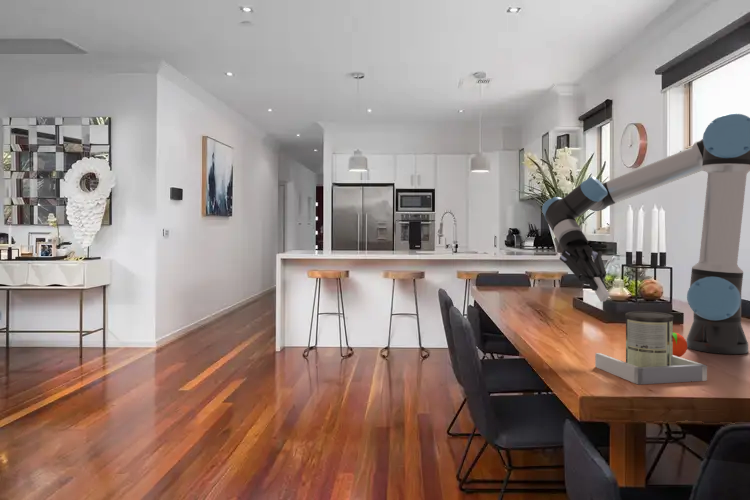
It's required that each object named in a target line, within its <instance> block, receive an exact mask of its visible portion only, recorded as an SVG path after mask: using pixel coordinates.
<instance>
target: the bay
mask: <svg viewBox="0 0 750 500" xmlns="http://www.w3.org/2000/svg"><path fill="white" fill-rule="evenodd" d="M594 363H595V368H597V369H599V370H601V371H604V372H606V373H609V374H612V375H613V376H615V377H616V376H617V377H618V378H621V379H624V380H625V381H628V382H631V383H633V384H636V385H652V384H653V385H654V384H670V383H673V384H674V383H686V382H687V383H690V382H691V381H692V382H705V381H706V382H707V381H708V365H707V364H704V363H701V362H697V361H693V360H691V359H687V358H684V357H682V356H681V357H678V356H674V355H673V363H672V366H655V367H637V366H634V365H632V364H629V363H626V361H623V360H620V359H617V358H615V357H612V356H610V355H606V354H604V353H601V352H595V362H594Z"/></svg>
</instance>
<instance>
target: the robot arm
mask: <svg viewBox="0 0 750 500" xmlns="http://www.w3.org/2000/svg"><path fill="white" fill-rule="evenodd" d="M701 172H706V173H707V181H706V191H705V198H704V199H705V200H704V201H705V202H704V210H703V211H704V212H703V219H702V220H703V221H702V230H701V241H700V249H699V258H698V259H699V260H698V262H697V263H695V264H694V265H693V266H691V274H690V275H691V276H690V283H689V288H688V290H687V295H686V300H687V304H688V306H689V308H690V309H691V311H693V320H692V324H691V326H690V329H689V332H688V334H687V336H686V338H685V340H686V342H687V349H691V350H695V351H697V352H698V351H699V352H704V353H712V354H723V355H741V354H747V353H749V342H748V339H747V337H746V334H745V332H744V329H743V327H742V326H743V325H742V289H743V280H744V279H743V278H744V271H743V269H741V267H739V265H738V261H739V259H738V258H739V250H740V241H741V233H742V222H743V213H744V203H745V194H746V185H747V177H748V176H747V174H748V173H749V172H750V117H749V116H748V115H745V114H743V113H734V112H733V113H731V112H730V113H726V114H722V115H720V116H718V117H717V118H715V119H713V120H712V121H711V122H710V123H709V124H707V127H705V131H704V132H703V135H702V138H701V139H699V140H697V141H695V142H694V143H693V145H692V146H691V147H689V148H686V149H684V150H682V151H679V152H677V153H674V154H672V155H669V156H667V157H664V158H662V159H660V160H657V161H654V162H652V163H650V164H647V165H644V166H642V167H639V168H637V169H635V170H632V171H629V172H628V173H624V174H622V175H620V176H617V177H615V178H613V179H611V180H608V181H605V182H601V181H600V180H599V179H598V178H597V177H595V176H590V177H589V178H587V179H586V180H584V181H582V182H581V183H580V184H579V185H578V186H577V187H575V188H573V190H571V191H570V192H569V193H567V194H566V195H565V196H564V197H560V196H554V197H552V198H549V199H547V200H546V201H545V202H544V203H543V205H542V207H541V211H542V214H543V216H544V219H545V221H546V222H547V224H548V226H549V227H550V229H551V231H552V233H553V235H554V236H555V239H556V240H557V243H558V244H559V247H560V248H561V250H562V253H561V255H560V256H559V260H560V261H562V262H563V263H564V264H565V265H566V266H567V267H568V268H569V270H570V271H571V272H572V273H573V275H574V276H575V277H576V278H577V280H579V282H584V281H585V282H584V284H585V285H587V286H589V288H590V289H591V290H592V291H594V293H595V295H596V296H597V298H598V300H599V301H600V302H606V301H607V300H608V298H609V297H610V293H609V292H608V290H607V285H606V283H605V281H604V279H605V278H606V276H607V270H606V268H605V265H604V260H603V258H602V255H603V252H602V251H600V250H599V251H595V250H593V248H592V247H590V245H589V241H588V239H587V237H586V235H585V233H584V232H583V229H581V227H580V226H579V224H578V222H577V221H576V219H577V218H579V217H580V216H582V215H583V214H584V213H585V212H587V211H588V210H591V211H593V212H601V211H604V210H605V209H607V208H608V207H609V206H613V205H614V204H617V203H620V202H622V201H624V200H628V199H631V198H633V197H635V196H638V195H641V194H643V193H647V192H649V191H651V190H654V189H657V188H660V187H663V186H665V185H668V184H670V183H673V182H676V181H679V180H680V179H684V178H687V177H690V176H692V175H695V174H698V173H701Z"/></svg>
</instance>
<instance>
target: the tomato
mask: <svg viewBox="0 0 750 500" xmlns="http://www.w3.org/2000/svg"><path fill="white" fill-rule="evenodd" d="M687 350H688V347H687V342H686V338H685V337H684V336H683V335H681V334H680V333H678V332H674V331H673V355H674V356H678V357H681V358H682V356H683V355H685V354H686V352H687Z"/></svg>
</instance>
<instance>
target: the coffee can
mask: <svg viewBox="0 0 750 500" xmlns="http://www.w3.org/2000/svg"><path fill="white" fill-rule="evenodd" d="M624 316H625V362H626V363H629V364H632V365H634V366H637V367H655V366H672V363H673V332H674V331H673V329H674V328H673V325H674V324H673V321H674V315H673V314H671V313H666V312H658V311H645V310H644V311H638V310H636V311H628V312H626V313H625V315H624Z"/></svg>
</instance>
